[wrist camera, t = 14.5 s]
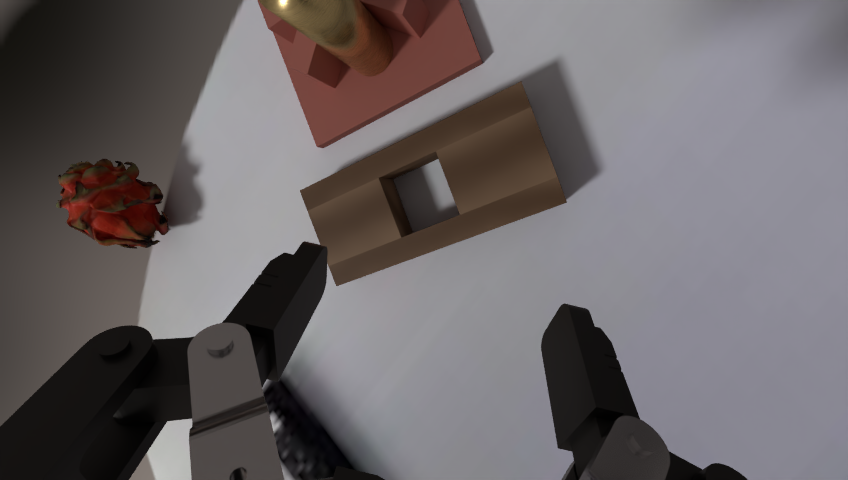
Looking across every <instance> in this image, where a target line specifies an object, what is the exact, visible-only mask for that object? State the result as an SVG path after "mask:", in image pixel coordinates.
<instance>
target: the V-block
mask: <svg viewBox="0 0 848 480" xmlns="http://www.w3.org/2000/svg"><path fill="white" fill-rule="evenodd" d="M359 1H360V2H361V3H362V4H363V6H364V7H365V8H366V9H367V10H368V11H369V12H370V13H371V14H372V15H373V17H374V18H375V19H376V20H377V21H378V22H379V23H380V24H381V25H382V26H383V28H384V29H385V30H386V31H387V32H388V33H389V35H390V36H391V38H392V41H393V47H394V49H393V56H392V60H391V62H390V64H389V65H388V67H387V68H386V69H385V70H384V71H383V72H382V73H380V74H378V75H376V76H370V77H369V76H364V75H362V74H360V73H358V72H357V71H355V70H354V69H353V68H351V67H350V66H348V65H347V64H345V63H344V62H343V61H341V60H340V59H338V58H337V57H335V56H334V55H332V54H331V53H330V52H328V51H327V50H325V49H324V48H322V47H321V46H320V45H318V44H317V43H315V42H314V41H312V40H311V39H309V38H308V37H307V36H305V35H304V34H302V33H301V32H299V31H298V30H297V29H295V28H294V27H292V26H291V25H289V24H288V23H286V22H285V21H284V20H282V19H281V18H279V17H278V16H276V15H275V14H274V13H272V12H271V11H269V10H268V9H266V8H265V7H264V6H263V5H262V4H261V3H260V2H259V0H258V3H259V5H260V8H261V11H262V13H263V16H264V18H265V21H266V24H267V26H268V29H270V30H271V31H273V33H274V36H275V38H276V41H277V44H278V46H279V49H280V51H281V54H282V57H283V59H284V62H285V65H286V67H287V70H288V72H289V75H290V78H291V80H292V83H293V86H294V88H295V91H296V93H297V96H298V99H299V101H300V104H301V106H302V109H303V112H304V114H305V117H306V120H307V122H308V125H309V127H310V130H311V133H312V135H313V138H314V141H315V143H316V146H317V147H320V148H324V147H326V146H328V145H330V144H332V143H334V142H336V141H338V140H340V139H341V138H343V137H345V136H347V135H349V134H351V133H353V132H355V131H357V130H358V129H360V128H362V127H364V126H366V125H368V124H370V123H372V122H374V121H375V120H377V119H379V118H381V117H383V116H385V115H387V114H389V113H390V112H392V111H394V110H396V109H398V108H400V107H402V106H404V105H406V104H407V103H409V102H411V101H413V100H415V99H417V98H419V97H421V96H423V95H424V94H426V93H428V92H430V91H432V90H434V89H436V88H438V87H440V86H441V85H443V84H445V83H447V82H449V81H451V80H453V79H455V78H457V77H458V76H460V75H462V74H464V73H466V72H468V71H470V70H472V69H474V68H475V67H477V66H479V65H481V64H483V63H482V60H481V58H480V55H479V52H478V50H477V47H476V44H475V42H474V39H473V37H472V34H471V31H470V29H469V26H468V23H467V21H466V18H465V15H464V13H463V10H462V8H461V5H460V2H459V0H359Z"/></svg>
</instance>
